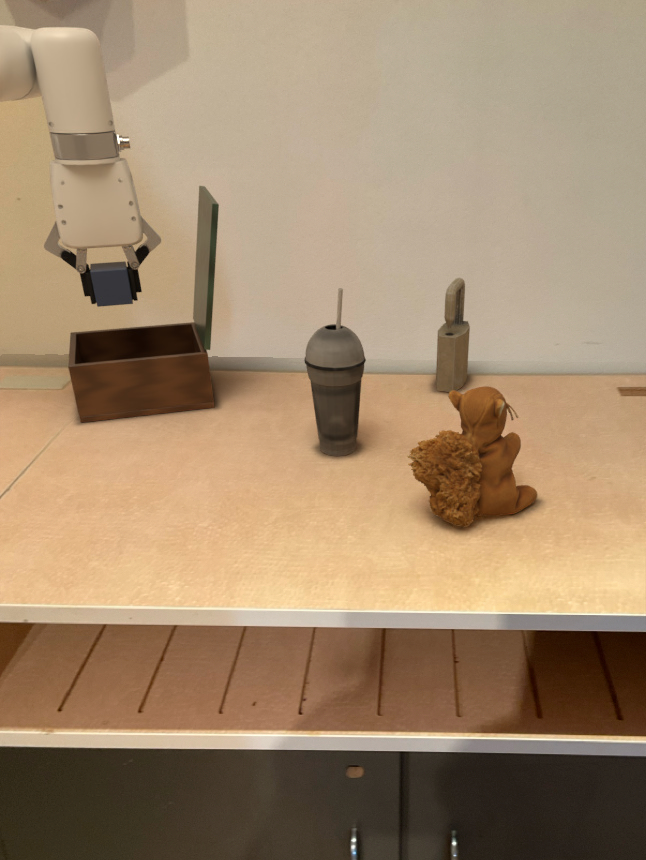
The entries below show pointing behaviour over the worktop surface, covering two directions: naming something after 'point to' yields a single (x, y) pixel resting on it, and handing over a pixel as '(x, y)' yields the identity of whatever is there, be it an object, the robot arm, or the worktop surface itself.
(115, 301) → the block
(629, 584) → the worktop surface
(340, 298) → the beverage cup
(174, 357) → the chest
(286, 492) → the worktop surface
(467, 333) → the padlock
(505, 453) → the stuffed squirrel
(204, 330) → the lid
